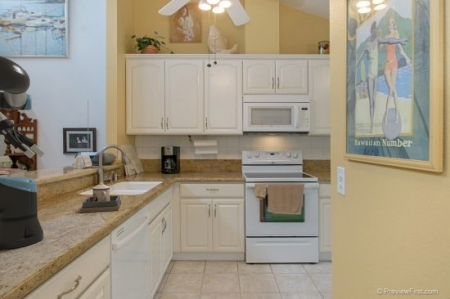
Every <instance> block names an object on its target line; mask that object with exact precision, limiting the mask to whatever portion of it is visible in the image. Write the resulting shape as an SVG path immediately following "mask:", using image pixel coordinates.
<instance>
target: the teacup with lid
mask: <svg viewBox="0 0 450 299" xmlns="http://www.w3.org/2000/svg"><path fill="white" fill-rule="evenodd" d="M110 189H111V187H110V186H109V185H106V184H104V183H103V182H99V184H97V185H95V186H93V187H92V188H91V190H92V197H93V202H99V201H110V196H111V193H110V192H111V191H110Z"/></svg>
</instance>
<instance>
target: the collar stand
mask: <svg viewBox="0 0 450 299" xmlns="http://www.w3.org/2000/svg"><path fill="white" fill-rule="evenodd" d="M81 204H82V205H81V206H82V207H81V208H80V214H88V213H91V214H92V213H104V212H105V213H106V212H107V213H108V212H118V211H119V210H120V207H121V205H122V199H121V195H119V194H118V195H110V201H99V202H93V196H88V197H87V198H85V200H84V201H82V203H81Z"/></svg>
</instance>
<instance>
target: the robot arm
mask: <svg viewBox="0 0 450 299" xmlns="http://www.w3.org/2000/svg"><path fill="white" fill-rule="evenodd" d="M30 86H31V79H30V76H29V73H28V72H27V71H26V70H25V69H24V67H22V66H21V65H19V64H18V63H16V62H15V61H14V60H12V59H9V58H8V57H5V56H1V55H0V110H15V111H31V110H32V95H31V94H29V93H28V90H29V88H30ZM14 127H15V123H14V122H13V121H11V120H10V119H9V118H8V117H7V116H6V115H5V114H3V113H2V112H1V111H0V136H4V137H5V139H6V140H7V142H9V143H10V145H12V147H13V148H14V149H15V150H17V149H18V150H20V151H21V153H23V154H24V155H26V157H28V158H29V159H32V157H34V156H35V155H37V156H38V157H39V158H42V157H43V156H44V155H45V154H46V152H44V151H43V150H42V149H41V148H40V147H39V146H37V145H36V144H37V143H36V141H33V140H31V139H30V138H29V137H27V136H26V135H24V134H23V133H21V132H20V130H18V129H14ZM37 183H38V182H37V181H36V180H35V179H34V178H31V177H26V176H9V175H8V176H7V175H6V176H5V175H4V176H0V250H8V249H9V250H10V249H16V248H22V247H27V246H29V245H33V244H37V243H39V242H40V241H42V240H43V239H44V237H45V236H44V229H43V228H42V225H41V222H40V221H39V218H38V212H39V211H38V192H39V190H38V186H37V185H38V184H37Z"/></svg>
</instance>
